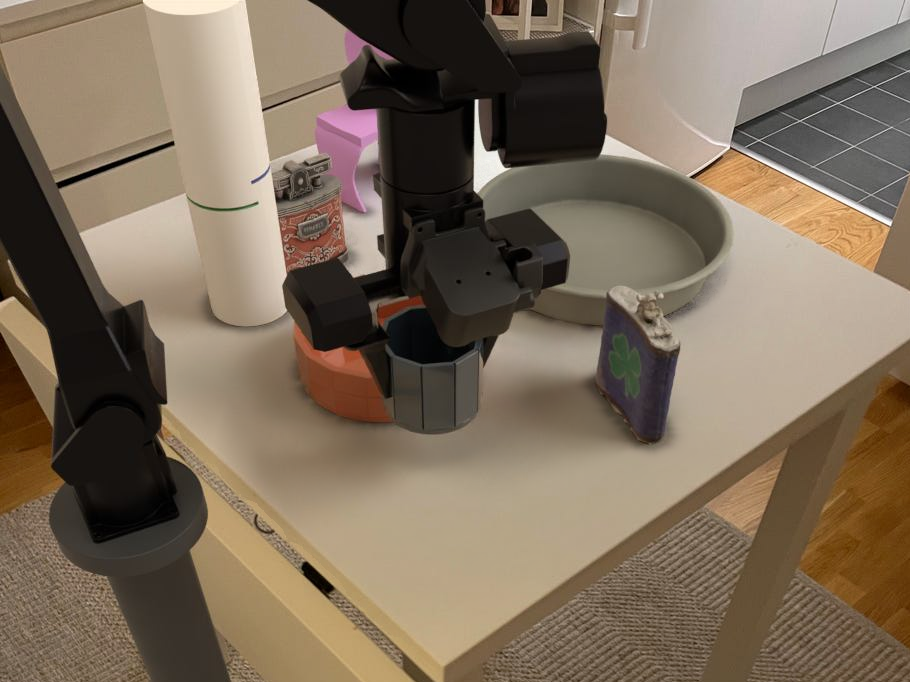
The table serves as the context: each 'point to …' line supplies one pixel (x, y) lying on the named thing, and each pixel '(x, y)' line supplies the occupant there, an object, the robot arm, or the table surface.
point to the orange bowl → (344, 374)
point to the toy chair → (347, 132)
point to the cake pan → (618, 230)
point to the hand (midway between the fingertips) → (431, 381)
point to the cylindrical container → (222, 152)
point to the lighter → (309, 212)
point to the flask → (637, 361)
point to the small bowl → (430, 375)
